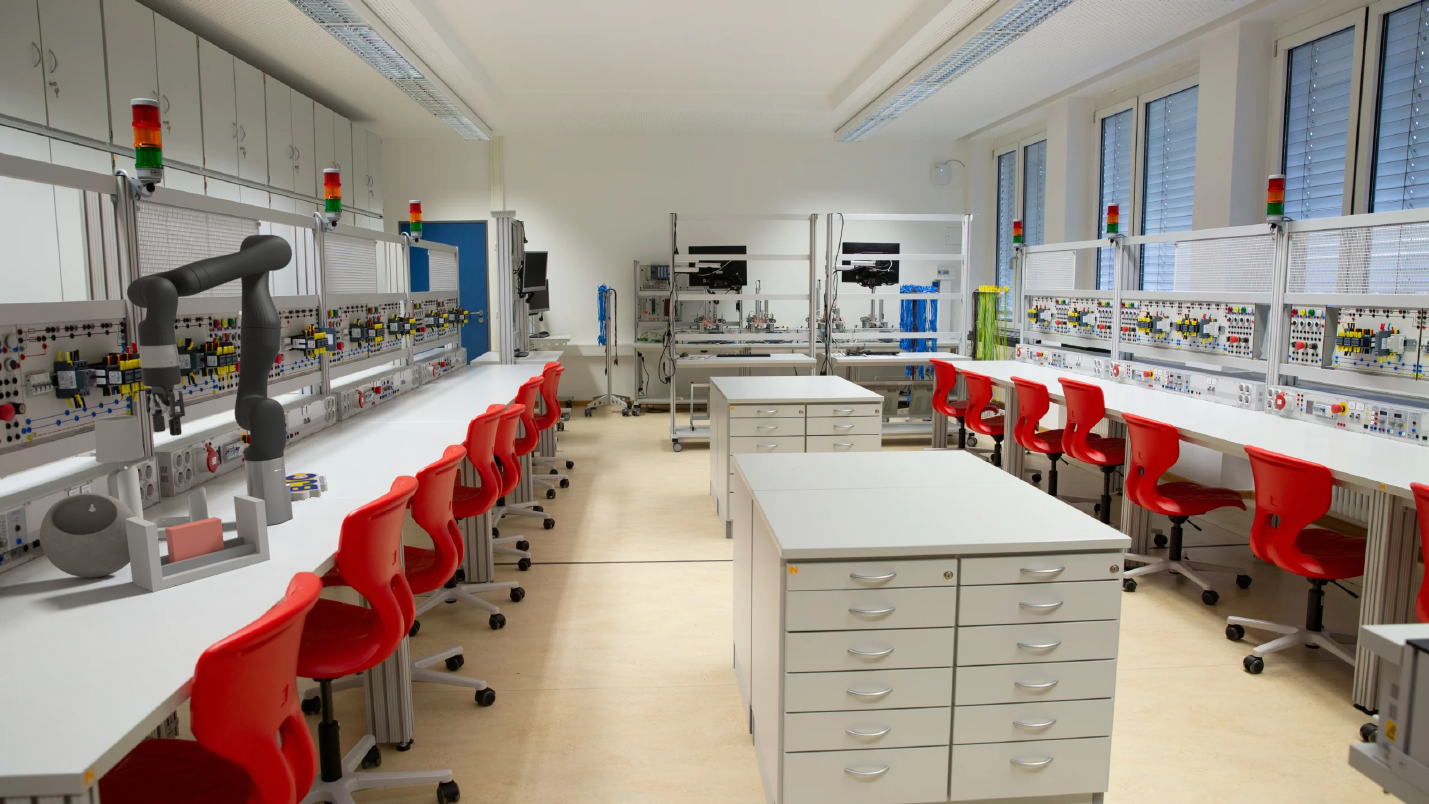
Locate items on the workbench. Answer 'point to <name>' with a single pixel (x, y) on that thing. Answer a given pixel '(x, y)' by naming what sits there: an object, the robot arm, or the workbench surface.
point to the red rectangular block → (194, 539)
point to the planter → (86, 535)
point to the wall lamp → (135, 470)
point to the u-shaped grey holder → (236, 554)
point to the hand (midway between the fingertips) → (167, 433)
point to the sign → (306, 485)
